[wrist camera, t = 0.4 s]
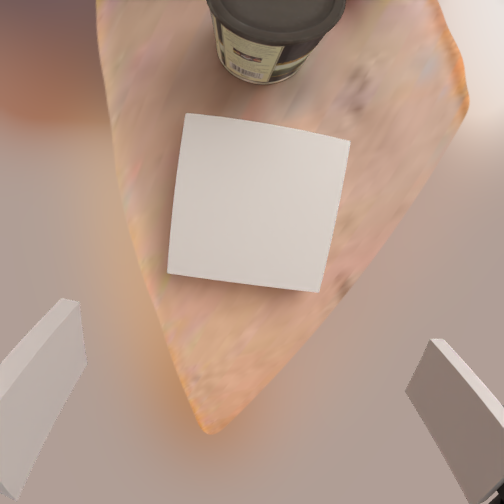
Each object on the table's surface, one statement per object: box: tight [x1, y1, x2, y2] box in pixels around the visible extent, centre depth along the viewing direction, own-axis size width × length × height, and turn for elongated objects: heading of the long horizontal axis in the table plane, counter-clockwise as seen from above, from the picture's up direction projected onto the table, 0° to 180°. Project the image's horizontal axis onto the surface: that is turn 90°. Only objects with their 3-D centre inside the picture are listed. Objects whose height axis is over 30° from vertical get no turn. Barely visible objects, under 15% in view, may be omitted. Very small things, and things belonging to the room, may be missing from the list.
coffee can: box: [206, 0, 346, 85], centre depth 23 cm, size 10×10×14 cm
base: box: [167, 113, 351, 293], centre depth 33 cm, size 16×16×5 cm
